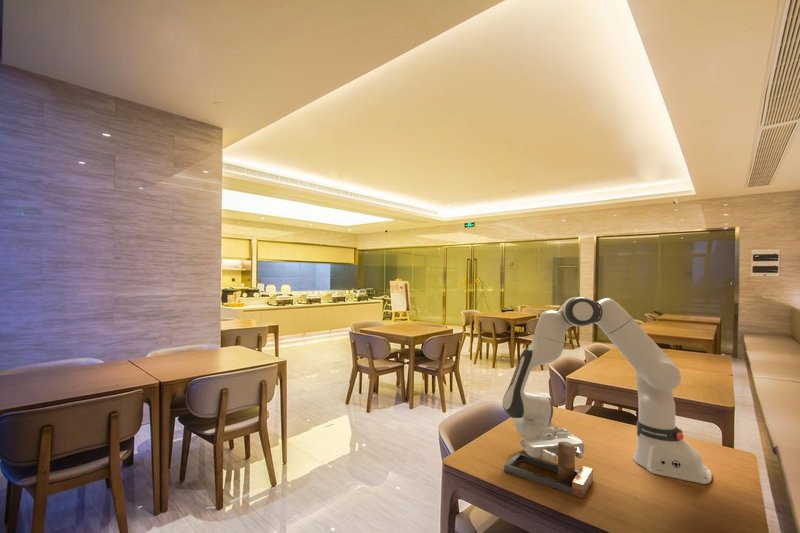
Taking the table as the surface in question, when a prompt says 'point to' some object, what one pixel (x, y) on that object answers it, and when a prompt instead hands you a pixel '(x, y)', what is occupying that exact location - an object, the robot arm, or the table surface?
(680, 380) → the robot arm
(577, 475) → the guide track
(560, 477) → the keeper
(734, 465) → the table surface
